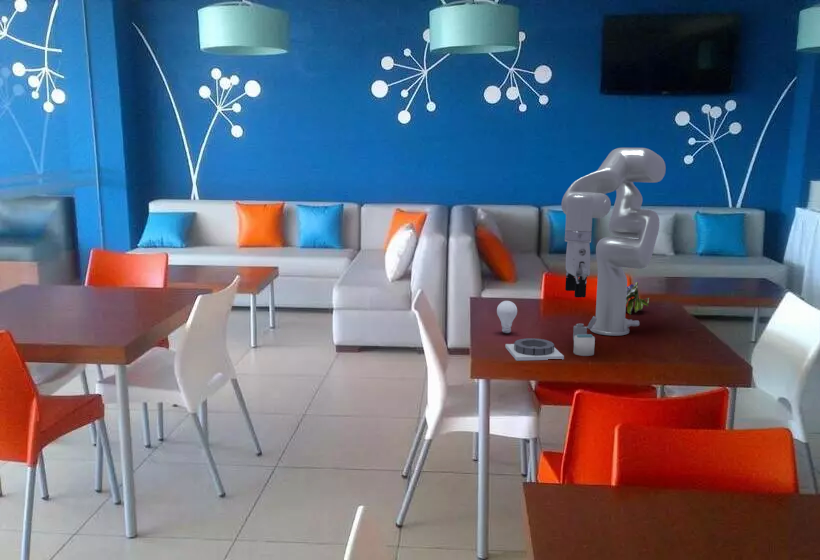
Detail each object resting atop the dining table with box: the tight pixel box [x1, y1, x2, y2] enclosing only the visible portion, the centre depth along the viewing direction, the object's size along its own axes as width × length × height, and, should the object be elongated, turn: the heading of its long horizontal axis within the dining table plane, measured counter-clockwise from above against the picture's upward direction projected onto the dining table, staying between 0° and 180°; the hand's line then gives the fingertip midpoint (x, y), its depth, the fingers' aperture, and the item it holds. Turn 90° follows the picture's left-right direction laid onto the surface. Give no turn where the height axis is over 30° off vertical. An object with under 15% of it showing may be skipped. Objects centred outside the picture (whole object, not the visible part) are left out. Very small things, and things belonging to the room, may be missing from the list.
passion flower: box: [626, 281, 650, 315], centre depth 274 cm, size 13×12×14 cm
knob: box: [572, 333, 596, 357], centre depth 219 cm, size 6×6×6 cm
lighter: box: [572, 315, 597, 341], centre depth 233 cm, size 7×2×8 cm, turn 75°
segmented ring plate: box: [505, 337, 565, 362], centre depth 219 cm, size 14×14×3 cm
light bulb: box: [496, 300, 518, 335], centre depth 240 cm, size 7×7×11 cm
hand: (575, 293), depth 218 cm, fingers open, 9 cm apart
